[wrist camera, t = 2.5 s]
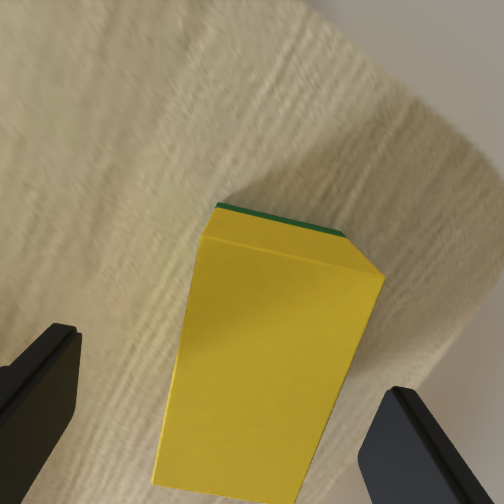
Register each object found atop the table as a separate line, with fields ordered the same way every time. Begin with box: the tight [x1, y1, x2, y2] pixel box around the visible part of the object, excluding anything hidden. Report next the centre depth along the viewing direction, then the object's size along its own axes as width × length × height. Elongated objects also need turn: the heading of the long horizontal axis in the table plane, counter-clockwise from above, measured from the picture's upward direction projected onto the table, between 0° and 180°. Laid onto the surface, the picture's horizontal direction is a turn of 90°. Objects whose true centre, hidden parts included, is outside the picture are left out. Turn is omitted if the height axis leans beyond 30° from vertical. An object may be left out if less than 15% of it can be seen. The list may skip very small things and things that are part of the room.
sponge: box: [151, 203, 385, 504], centre depth 12 cm, size 9×5×5 cm, turn 166°
